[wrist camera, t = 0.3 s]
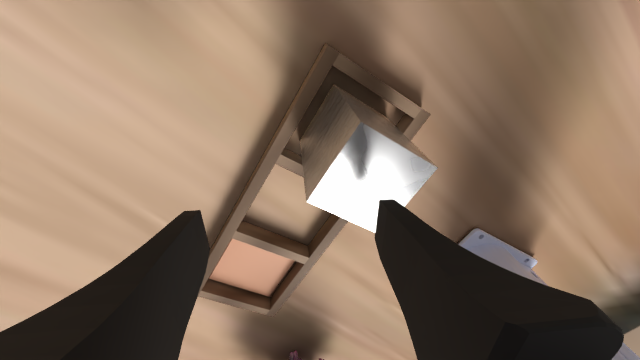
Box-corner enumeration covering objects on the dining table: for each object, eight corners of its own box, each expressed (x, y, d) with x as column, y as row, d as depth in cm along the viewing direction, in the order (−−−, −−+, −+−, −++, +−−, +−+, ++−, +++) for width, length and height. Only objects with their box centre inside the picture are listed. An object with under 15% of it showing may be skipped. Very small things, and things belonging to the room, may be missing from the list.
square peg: (386, 117, 21) (437, 167, 14) (351, 167, 22) (380, 234, 15) (333, 84, 19) (360, 121, 12) (299, 140, 21) (306, 201, 14)
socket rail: (421, 108, 21) (430, 114, 19) (274, 303, 29) (273, 317, 28) (325, 43, 18) (328, 45, 17) (193, 280, 26) (188, 293, 25)
